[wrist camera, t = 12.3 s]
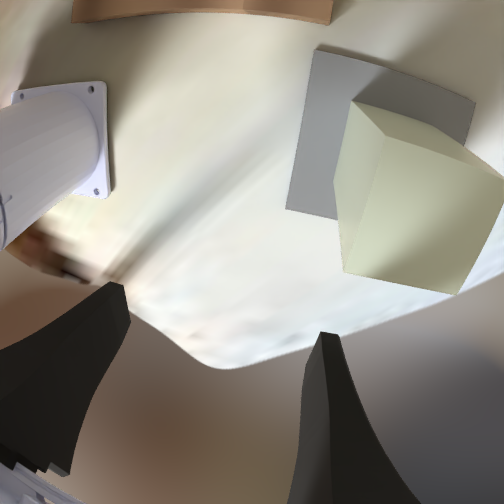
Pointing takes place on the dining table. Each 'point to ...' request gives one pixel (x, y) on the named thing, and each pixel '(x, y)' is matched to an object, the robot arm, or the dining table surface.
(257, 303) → the dining table surface
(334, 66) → the rubber pad
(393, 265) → the sage block
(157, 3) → the pocket block
